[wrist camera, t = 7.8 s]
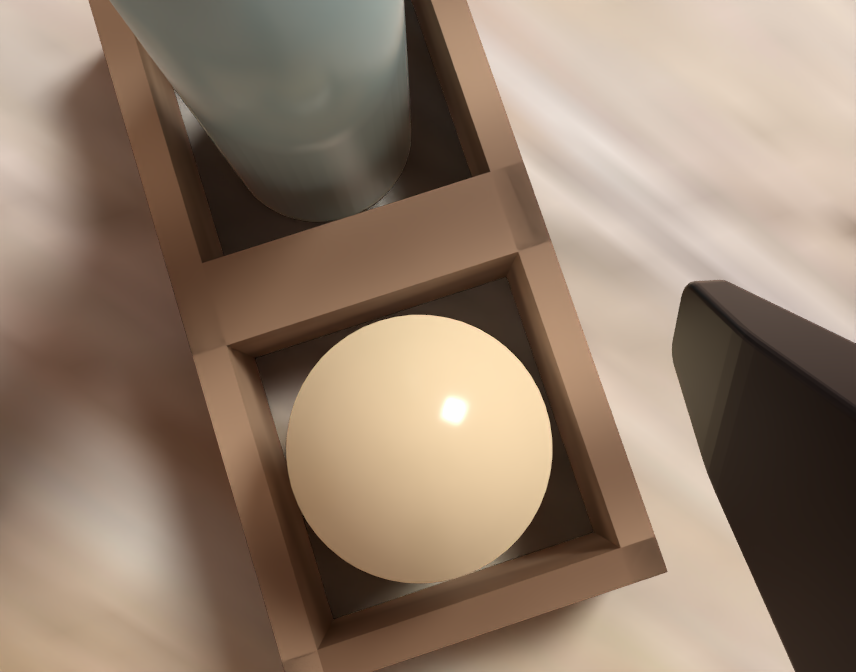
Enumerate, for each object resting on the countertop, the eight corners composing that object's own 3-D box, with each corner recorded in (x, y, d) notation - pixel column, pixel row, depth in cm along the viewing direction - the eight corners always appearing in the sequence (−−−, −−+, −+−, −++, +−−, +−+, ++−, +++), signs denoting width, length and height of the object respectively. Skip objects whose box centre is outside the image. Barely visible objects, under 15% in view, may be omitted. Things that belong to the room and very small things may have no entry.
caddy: (633, 552, 21) (667, 571, 18) (312, 661, 21) (292, 698, 18) (421, -59, 23) (419, -132, 20) (125, 32, 23) (80, -30, 20)
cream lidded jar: (548, 508, 21) (588, 533, 16) (356, 573, 21) (331, 620, 16) (484, 319, 22) (502, 280, 16) (297, 380, 22) (253, 361, 16)
